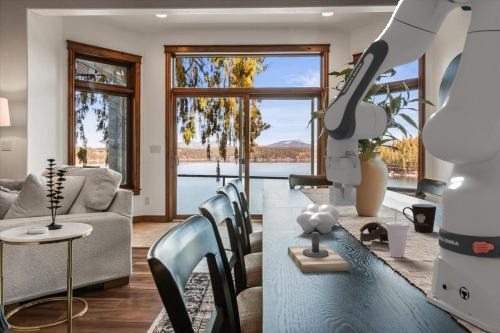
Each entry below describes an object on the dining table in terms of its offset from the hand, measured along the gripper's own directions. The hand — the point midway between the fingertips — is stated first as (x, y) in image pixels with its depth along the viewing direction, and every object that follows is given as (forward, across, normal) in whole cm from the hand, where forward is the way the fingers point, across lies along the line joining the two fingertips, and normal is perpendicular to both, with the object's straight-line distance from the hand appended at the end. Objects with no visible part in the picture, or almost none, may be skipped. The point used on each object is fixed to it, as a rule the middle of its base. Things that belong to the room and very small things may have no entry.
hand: (342, 198), depth 108 cm
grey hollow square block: (+2, 0, 0) cm, 2 cm away
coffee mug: (+17, +30, -42) cm, 55 cm away
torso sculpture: (+17, +36, -2) cm, 40 cm away
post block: (+17, -5, +10) cm, 20 cm away
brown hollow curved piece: (+17, +13, -16) cm, 27 cm away
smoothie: (+17, -3, -15) cm, 23 cm away
